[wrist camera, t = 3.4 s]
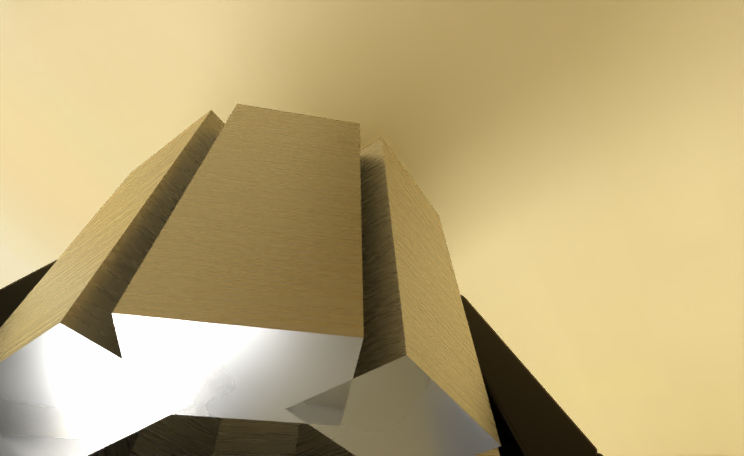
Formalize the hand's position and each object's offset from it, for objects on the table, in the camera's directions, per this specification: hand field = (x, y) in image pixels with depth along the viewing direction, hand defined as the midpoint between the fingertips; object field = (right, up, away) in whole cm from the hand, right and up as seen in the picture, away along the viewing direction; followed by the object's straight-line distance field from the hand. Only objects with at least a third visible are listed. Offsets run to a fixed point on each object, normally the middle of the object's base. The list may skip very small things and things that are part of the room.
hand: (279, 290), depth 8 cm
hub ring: (0, +1, +1) cm, 1 cm away
